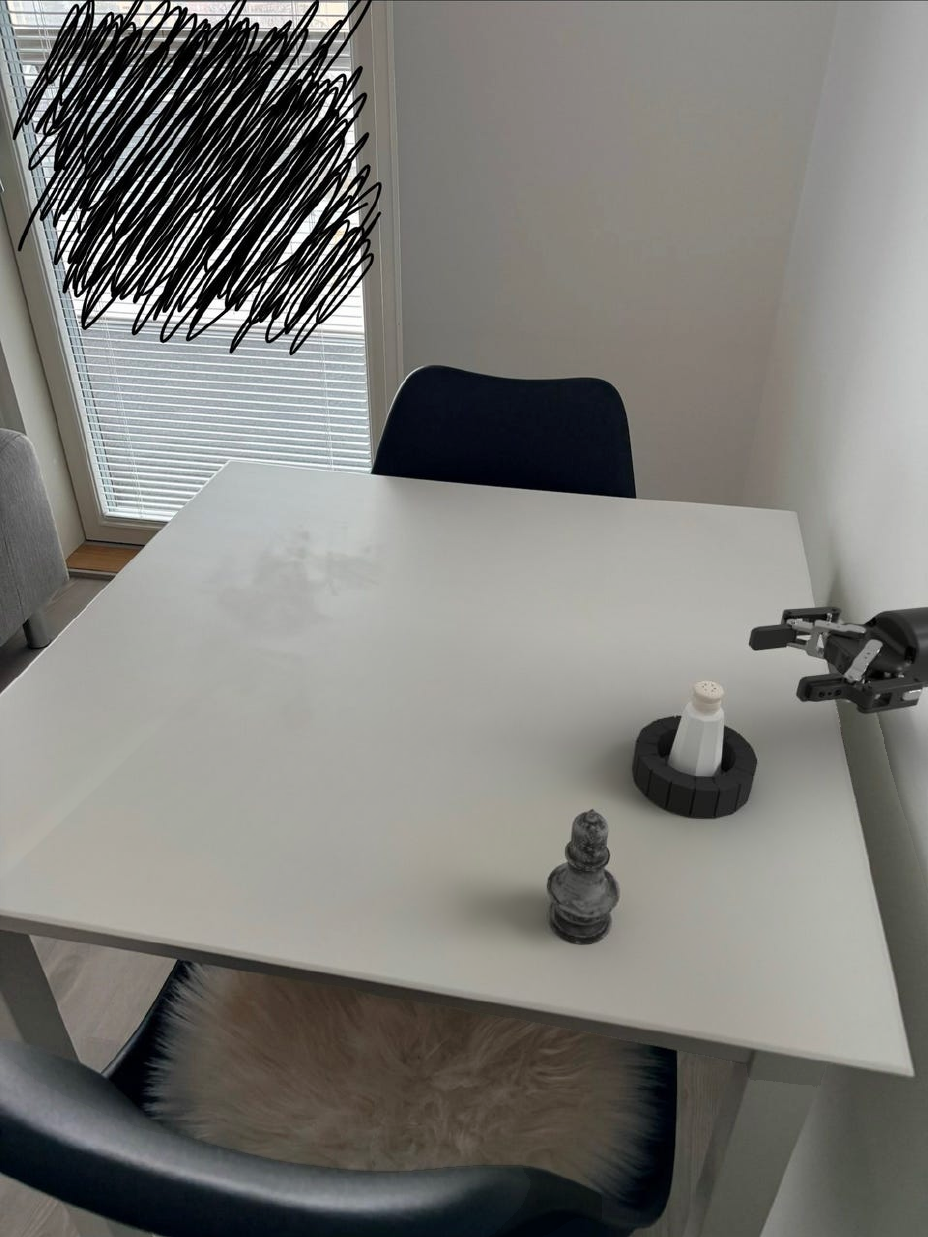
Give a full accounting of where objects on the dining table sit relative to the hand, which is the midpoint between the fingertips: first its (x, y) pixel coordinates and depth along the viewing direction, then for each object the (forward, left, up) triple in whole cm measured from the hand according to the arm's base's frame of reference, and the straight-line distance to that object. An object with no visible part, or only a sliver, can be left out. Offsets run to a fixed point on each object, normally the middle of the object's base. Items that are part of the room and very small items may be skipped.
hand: (774, 663), depth 79 cm
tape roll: (+4, +3, -15) cm, 16 cm away
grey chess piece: (0, +25, -15) cm, 29 cm away
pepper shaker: (+4, +3, -15) cm, 16 cm away
